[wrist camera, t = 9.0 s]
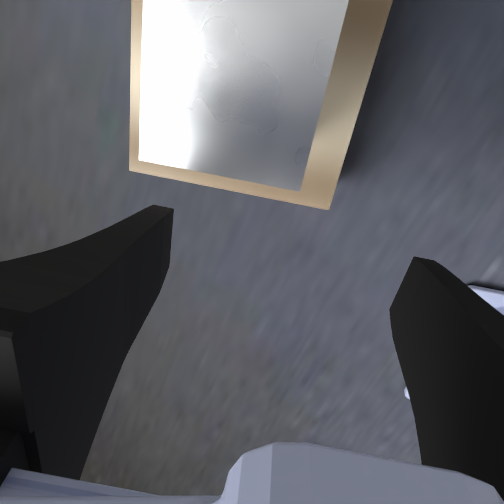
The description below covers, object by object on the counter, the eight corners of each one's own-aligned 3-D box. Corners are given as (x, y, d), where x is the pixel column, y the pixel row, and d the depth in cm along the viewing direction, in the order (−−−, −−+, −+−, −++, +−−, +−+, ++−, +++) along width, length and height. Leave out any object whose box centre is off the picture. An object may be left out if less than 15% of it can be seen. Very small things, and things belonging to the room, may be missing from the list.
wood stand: (324, 184, 21) (328, 210, 18) (149, 149, 21) (129, 170, 18) (438, -211, 13) (472, -260, 11) (167, -269, 13) (136, -332, 11)
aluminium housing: (298, 143, 17) (299, 191, 13) (178, 119, 17) (139, 159, 12) (372, -165, 12) (413, -255, 8) (203, -201, 12) (150, -311, 8)
